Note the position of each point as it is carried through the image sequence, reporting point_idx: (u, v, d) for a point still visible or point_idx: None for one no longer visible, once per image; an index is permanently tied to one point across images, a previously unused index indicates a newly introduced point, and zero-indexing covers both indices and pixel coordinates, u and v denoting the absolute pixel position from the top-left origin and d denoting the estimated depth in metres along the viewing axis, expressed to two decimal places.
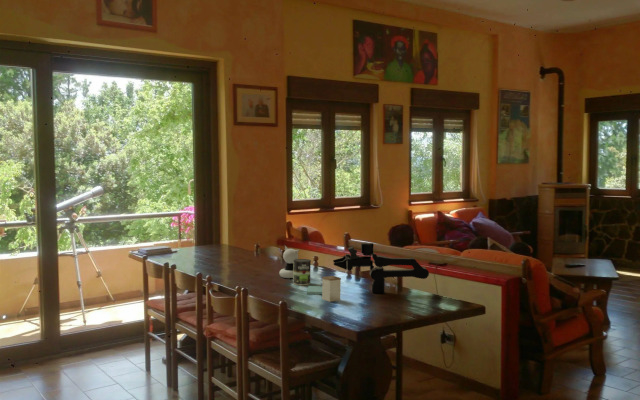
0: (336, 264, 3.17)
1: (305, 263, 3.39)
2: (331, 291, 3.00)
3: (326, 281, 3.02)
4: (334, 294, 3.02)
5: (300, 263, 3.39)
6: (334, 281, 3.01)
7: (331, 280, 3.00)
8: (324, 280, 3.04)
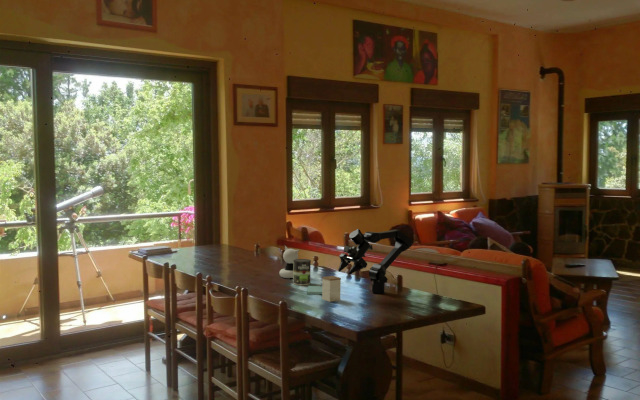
0: (351, 272, 3.05)
1: (305, 263, 3.39)
2: (331, 291, 3.00)
3: (326, 281, 3.02)
4: (334, 294, 3.02)
5: (300, 263, 3.39)
6: (334, 281, 3.01)
7: (331, 280, 3.00)
8: (324, 280, 3.04)
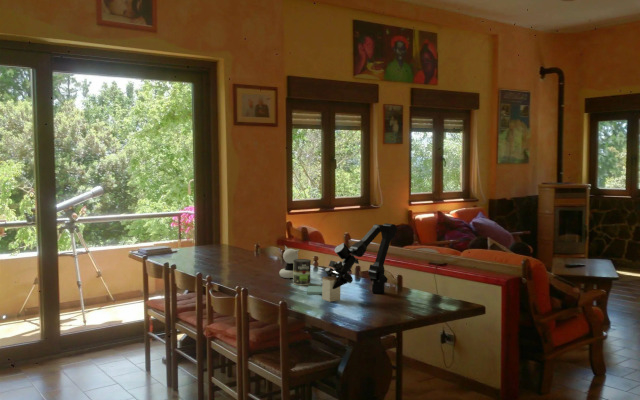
0: (335, 287, 3.01)
1: (305, 263, 3.39)
2: (331, 290, 3.00)
3: (326, 281, 3.02)
4: (334, 294, 3.02)
5: (300, 263, 3.39)
6: (334, 281, 3.01)
7: (331, 280, 3.00)
8: (324, 280, 3.04)
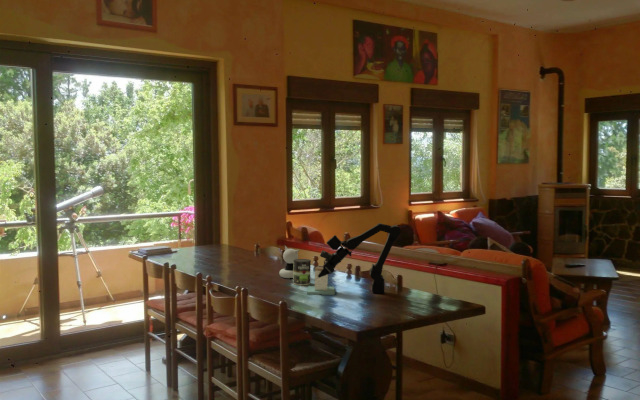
0: (320, 275, 3.18)
1: (305, 263, 3.39)
2: (316, 280, 3.20)
3: None
4: (320, 284, 3.20)
5: (300, 263, 3.39)
6: (320, 271, 3.20)
7: (316, 270, 3.20)
8: None
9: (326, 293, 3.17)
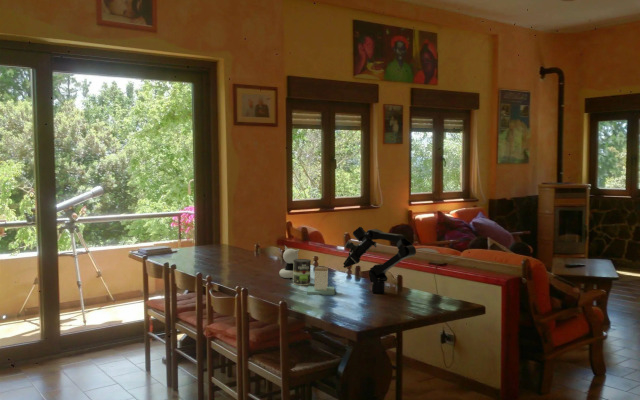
0: (346, 266, 3.24)
1: (305, 263, 3.39)
2: (316, 280, 3.20)
3: None
4: (320, 284, 3.20)
5: (300, 263, 3.39)
6: (319, 271, 3.20)
7: (316, 270, 3.20)
8: None
9: (326, 293, 3.17)
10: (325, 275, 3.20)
